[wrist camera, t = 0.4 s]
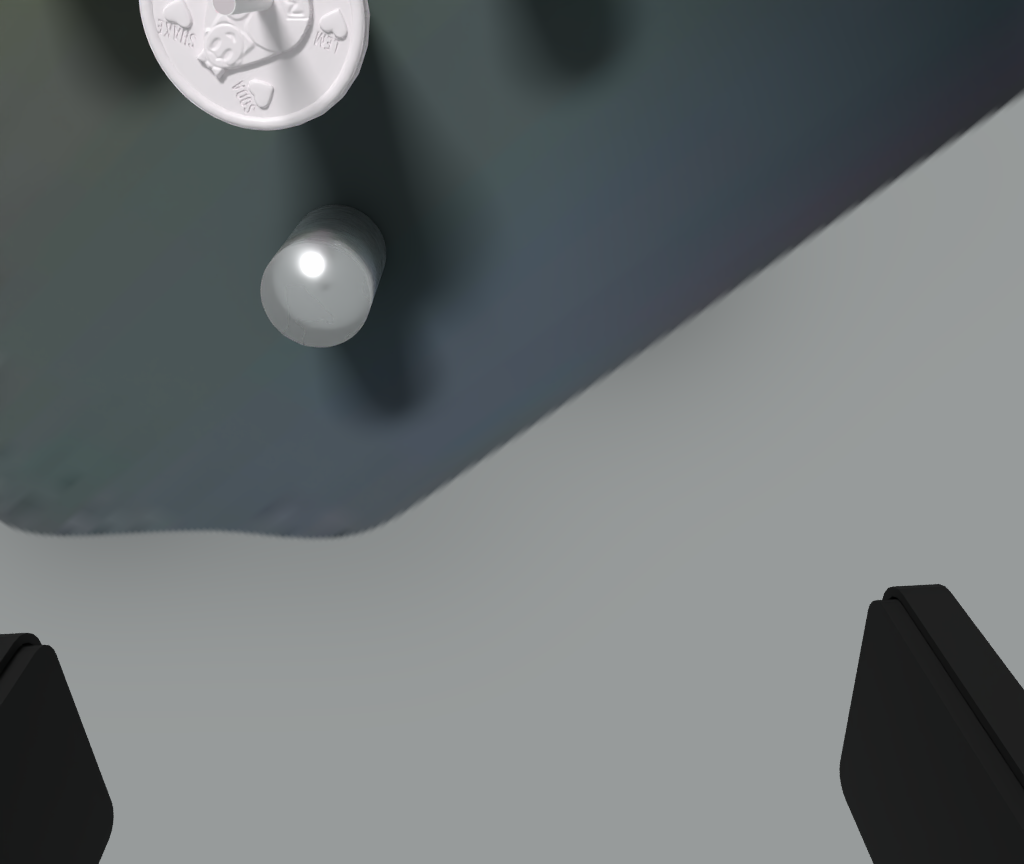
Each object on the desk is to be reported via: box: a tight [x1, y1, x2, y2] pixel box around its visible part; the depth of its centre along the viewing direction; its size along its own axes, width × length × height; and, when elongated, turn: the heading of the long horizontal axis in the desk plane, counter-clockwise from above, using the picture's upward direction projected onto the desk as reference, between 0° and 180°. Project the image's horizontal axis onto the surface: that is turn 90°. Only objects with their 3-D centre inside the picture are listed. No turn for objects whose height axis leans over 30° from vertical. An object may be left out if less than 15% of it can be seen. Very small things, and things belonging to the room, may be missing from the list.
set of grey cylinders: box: [261, 205, 386, 347], centre depth 32 cm, size 18×20×6 cm
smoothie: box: [139, 0, 370, 130], centre depth 27 cm, size 6×6×14 cm
